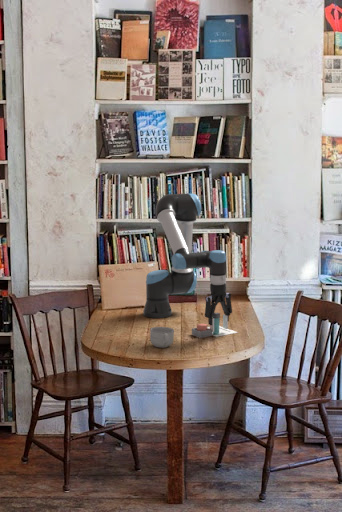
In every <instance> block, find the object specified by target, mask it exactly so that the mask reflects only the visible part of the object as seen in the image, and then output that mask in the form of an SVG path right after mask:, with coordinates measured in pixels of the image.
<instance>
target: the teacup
mask: <svg viewBox="0 0 342 512" xmlns="http://www.w3.org/2000/svg"><path fill="white" fill-rule="evenodd" d="M174 333H175V329H174V328H173V327H167V326H154V327H151V328H150V330H149V336H150V337H149V338H150V343H151V345H153V346H154V347H155V348H161V349H163V348H168V347H170V346H171V345H173V343H174V336H175V335H174Z"/></svg>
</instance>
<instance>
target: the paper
mask: <svg viewBox="0 0 342 512" xmlns="http://www.w3.org/2000/svg"><path fill="white" fill-rule="evenodd" d="M207 328H209V329H210V326H207ZM212 333H213V332H212ZM238 333H239V332H238V331H236V330H232V329H231V328H230V329H229V328H228V329H225V328H223V325H222V326H221V325H219V334H218V335H214V334H212V336H213V337H215V338H217V337H222V336H228V335H233V334H238Z"/></svg>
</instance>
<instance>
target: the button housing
mask: <svg viewBox="0 0 342 512" xmlns="http://www.w3.org/2000/svg"><path fill="white" fill-rule="evenodd" d="M191 335H192V336H195V337H197V338H199V339H203V338H207V337H212V336H213V335H212V329H209V328H207V330H205V331H199V330H197V327H193V328H191Z"/></svg>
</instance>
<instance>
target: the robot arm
mask: <svg viewBox="0 0 342 512" xmlns="http://www.w3.org/2000/svg"><path fill="white" fill-rule="evenodd" d="M201 213H202V204H201V201H200V198H199V196H198V195H197V194H196V193H186V192H185V193H173V194H172V193H169V194H168V193H167V194H165V195H163V196H161V198H160V199H159V200H158V201H157V203H156V205H155V217H156V219H157V221H158V223H161V226H162V229H163V232H164V234H165V236H166V239H167V241H168V243H169V245H170V249H171V251H172V255H171V256H172V257H171V263H172V264H171V265H172V266H171V269H170V272H169V271H168V270H166V269H158V270H153V271H150V272H149V273H147V275H146V277H145V278H146V279H145V284H146V286H145V287H146V289H145V290H146V291H145V292H146V295H145V296H146V297H145V298H146V300H145V303H144V308H143V313H142V315H143V317H146V318H152V319H155V318H156V319H163V318H168V317H171V316H172V312H173V311H172V307H171V304H170V302H169V295H180V294H183V295H184V294H189V293H192V292H193V291H195V289H196V287H197V282H198V281H197V280H198V277H197V274H196V273H197V272H196V271H194V269H201V268H203V269H204V268H205V269H206V268H208V269H209V282H210V284H209V289H210V295H209V296H205V297H204V298H205V309H204V317H205V318H206V319H207V320H208V324H207V325H209V327H210V329H212V332H214V318H213V315H214V313H216V312H215V311H216V308H217V306H218V304H220V306H221V308H222V311H223V315H222V327H223V328H225V329H229V319H230V318H229V317H230V316H231V314H233V307H232V299H231V298H232V297H231V296H232V293H230V292H226V291H227V284H226V283H227V256H226V252H225V250H220V249H218V250H217V249H216V250H211V251H210V250H202V251H201V252H192V247H193V232H194V231H193V229H194V223H195V222H196V221H197V217H199V216H200V215H201Z"/></svg>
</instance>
